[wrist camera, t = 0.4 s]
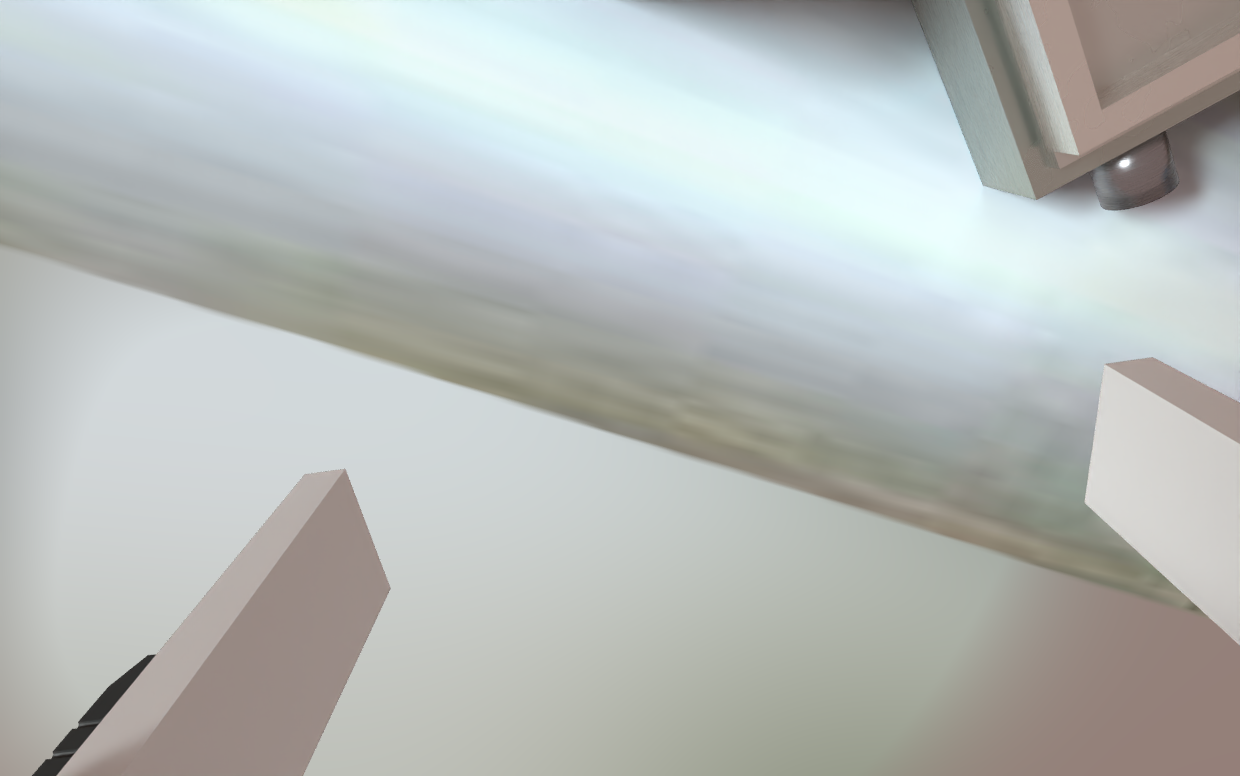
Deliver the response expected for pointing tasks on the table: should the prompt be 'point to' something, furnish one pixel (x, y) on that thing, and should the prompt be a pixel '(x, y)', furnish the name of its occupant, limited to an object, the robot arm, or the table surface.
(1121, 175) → the gearbox
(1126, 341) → the table surface
